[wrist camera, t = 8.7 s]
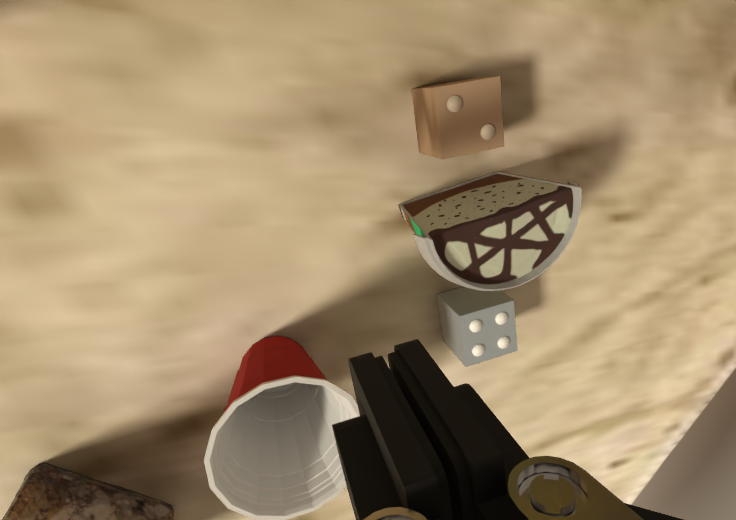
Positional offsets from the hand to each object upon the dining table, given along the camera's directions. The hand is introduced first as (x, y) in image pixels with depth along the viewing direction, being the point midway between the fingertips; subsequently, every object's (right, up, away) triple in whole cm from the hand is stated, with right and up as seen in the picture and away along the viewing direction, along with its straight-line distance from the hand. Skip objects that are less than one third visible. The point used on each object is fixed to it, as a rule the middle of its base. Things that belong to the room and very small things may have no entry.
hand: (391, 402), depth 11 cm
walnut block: (+6, +15, +28) cm, 33 cm away
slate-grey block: (+9, -1, +35) cm, 36 cm away
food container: (+7, +7, +32) cm, 33 cm away
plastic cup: (-9, -6, +32) cm, 33 cm away
